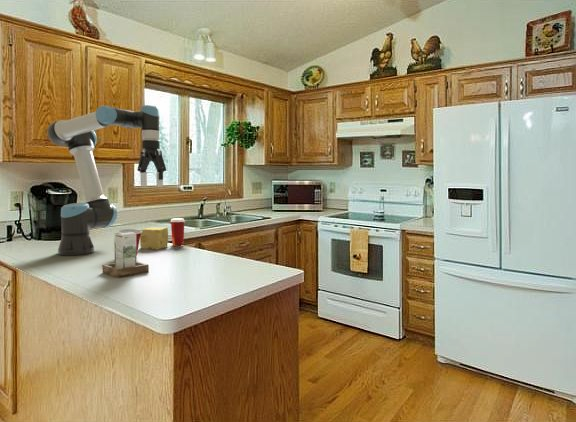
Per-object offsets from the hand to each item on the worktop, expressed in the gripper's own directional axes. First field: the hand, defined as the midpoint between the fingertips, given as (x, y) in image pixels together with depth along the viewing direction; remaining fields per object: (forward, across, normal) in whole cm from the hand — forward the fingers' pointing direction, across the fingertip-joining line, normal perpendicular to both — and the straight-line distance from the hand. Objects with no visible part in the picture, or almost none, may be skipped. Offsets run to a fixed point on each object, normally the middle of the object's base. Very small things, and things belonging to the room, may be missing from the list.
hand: (151, 186), depth 184 cm
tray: (+32, -24, +26) cm, 48 cm away
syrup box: (+31, -24, +26) cm, 47 cm away
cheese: (+32, +17, -11) cm, 38 cm away
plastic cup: (+32, +4, +9) cm, 33 cm away
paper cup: (+32, +15, -24) cm, 43 cm away
